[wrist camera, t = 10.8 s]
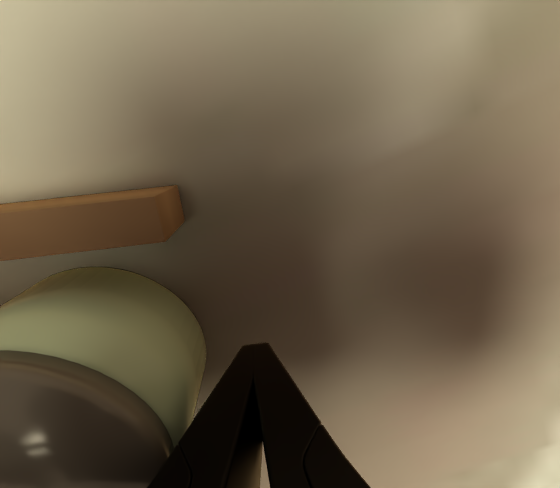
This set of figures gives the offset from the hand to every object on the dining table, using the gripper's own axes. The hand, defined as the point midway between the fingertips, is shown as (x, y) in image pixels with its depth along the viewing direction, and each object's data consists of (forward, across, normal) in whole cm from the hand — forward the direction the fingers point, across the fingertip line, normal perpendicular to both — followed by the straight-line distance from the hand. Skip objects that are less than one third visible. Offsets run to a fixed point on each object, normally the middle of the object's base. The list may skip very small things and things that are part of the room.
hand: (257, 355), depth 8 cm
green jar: (+1, +5, 0) cm, 5 cm away
